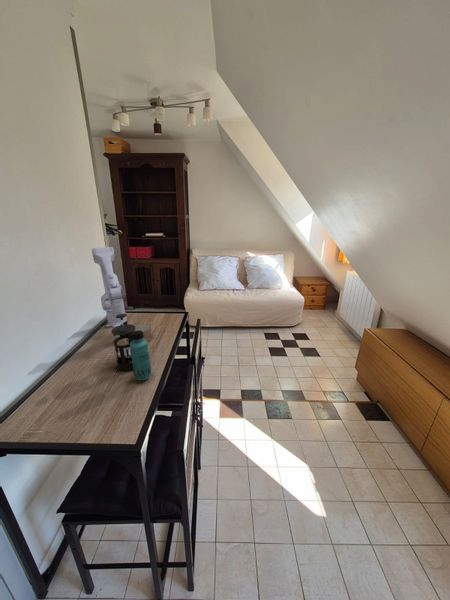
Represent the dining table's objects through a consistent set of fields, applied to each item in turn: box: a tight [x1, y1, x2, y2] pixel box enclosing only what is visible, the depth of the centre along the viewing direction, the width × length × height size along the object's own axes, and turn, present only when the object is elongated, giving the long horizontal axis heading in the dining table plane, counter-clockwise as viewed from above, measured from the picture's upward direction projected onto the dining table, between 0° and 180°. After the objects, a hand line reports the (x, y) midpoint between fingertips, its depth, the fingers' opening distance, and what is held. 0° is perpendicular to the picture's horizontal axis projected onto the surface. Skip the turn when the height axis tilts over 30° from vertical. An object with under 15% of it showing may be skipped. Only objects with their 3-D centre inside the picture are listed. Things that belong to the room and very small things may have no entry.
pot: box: [134, 323, 153, 342], centre depth 125 cm, size 12×9×6 cm
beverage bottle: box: [130, 330, 152, 381], centre depth 93 cm, size 6×7×20 cm
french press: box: [111, 313, 136, 373], centre depth 101 cm, size 12×9×23 cm
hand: (122, 336), depth 125 cm, fingers closed
